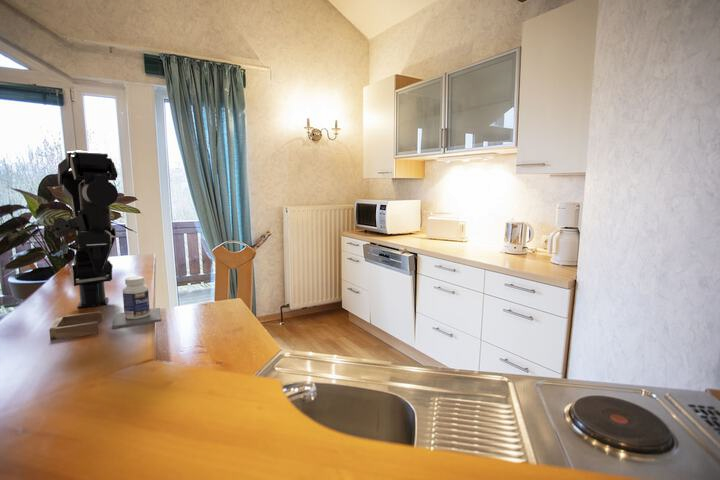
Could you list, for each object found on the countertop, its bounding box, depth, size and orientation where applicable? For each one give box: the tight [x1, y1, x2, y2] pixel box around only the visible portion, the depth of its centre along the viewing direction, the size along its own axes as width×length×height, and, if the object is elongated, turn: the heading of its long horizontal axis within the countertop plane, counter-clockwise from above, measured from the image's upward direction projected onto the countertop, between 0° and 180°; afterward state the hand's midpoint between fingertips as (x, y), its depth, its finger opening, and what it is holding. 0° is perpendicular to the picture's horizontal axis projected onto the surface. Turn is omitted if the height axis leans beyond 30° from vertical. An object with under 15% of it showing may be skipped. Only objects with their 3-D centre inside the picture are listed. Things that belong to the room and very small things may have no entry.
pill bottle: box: [122, 275, 151, 319], centre depth 90 cm, size 5×5×10 cm
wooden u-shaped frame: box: [48, 310, 103, 342], centre depth 83 cm, size 9×8×2 cm
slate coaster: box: [111, 307, 162, 330], centre depth 91 cm, size 10×10×1 cm
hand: (101, 269), depth 89 cm, fingers open, 9 cm apart
